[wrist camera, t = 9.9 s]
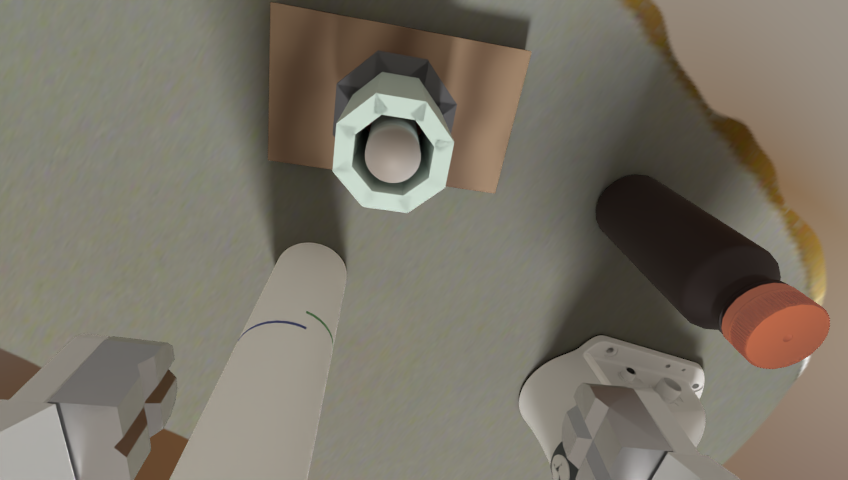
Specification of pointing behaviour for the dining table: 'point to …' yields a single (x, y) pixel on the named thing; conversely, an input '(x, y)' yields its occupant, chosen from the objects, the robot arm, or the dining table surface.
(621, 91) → the dining table surface
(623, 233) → the bottle
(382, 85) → the sleeve
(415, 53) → the pipe stand
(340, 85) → the o ring
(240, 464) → the cylindrical container
